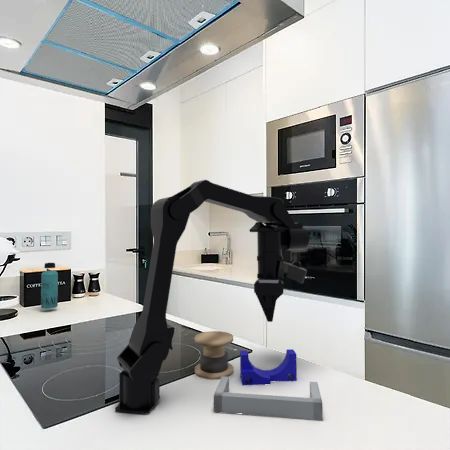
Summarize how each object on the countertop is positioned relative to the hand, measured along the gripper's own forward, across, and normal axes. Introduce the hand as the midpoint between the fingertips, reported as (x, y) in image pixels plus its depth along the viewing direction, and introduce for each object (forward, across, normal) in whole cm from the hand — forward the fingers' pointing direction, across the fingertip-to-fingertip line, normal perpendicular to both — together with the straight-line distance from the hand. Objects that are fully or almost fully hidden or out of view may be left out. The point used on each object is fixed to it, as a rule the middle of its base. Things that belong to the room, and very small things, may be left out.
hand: (270, 317), depth 84 cm
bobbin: (+12, -3, +13) cm, 18 cm away
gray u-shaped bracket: (+12, -17, 0) cm, 21 cm away
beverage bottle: (+12, +50, +93) cm, 106 cm away
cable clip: (+12, -6, 0) cm, 14 cm away
